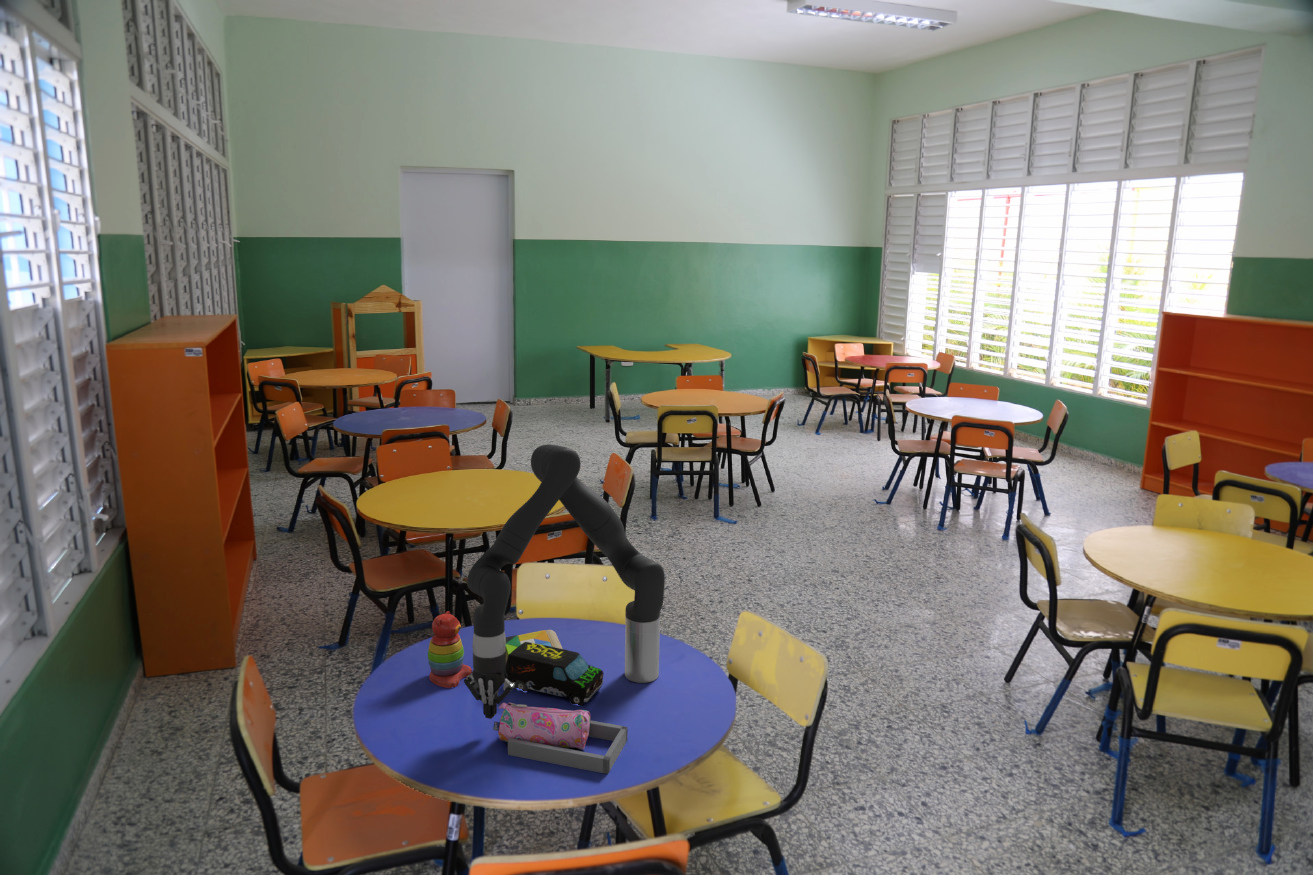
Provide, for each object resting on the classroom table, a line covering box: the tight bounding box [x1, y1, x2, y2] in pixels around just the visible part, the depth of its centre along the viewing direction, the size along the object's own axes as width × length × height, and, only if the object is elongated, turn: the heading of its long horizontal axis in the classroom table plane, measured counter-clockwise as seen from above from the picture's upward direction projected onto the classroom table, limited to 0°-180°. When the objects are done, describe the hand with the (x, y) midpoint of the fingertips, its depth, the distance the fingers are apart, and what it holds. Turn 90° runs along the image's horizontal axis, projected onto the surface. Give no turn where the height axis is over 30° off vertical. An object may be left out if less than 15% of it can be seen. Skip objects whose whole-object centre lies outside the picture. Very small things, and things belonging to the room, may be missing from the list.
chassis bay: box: [507, 720, 628, 775], centre depth 196 cm, size 14×24×4 cm, turn 74°
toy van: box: [505, 642, 605, 707], centre depth 221 cm, size 11×25×10 cm, turn 68°
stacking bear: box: [427, 610, 473, 689], centre depth 225 cm, size 11×10×18 cm
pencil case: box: [492, 702, 592, 750], centre depth 197 cm, size 21×9×9 cm, turn 80°
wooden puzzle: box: [505, 629, 564, 662], centre depth 243 cm, size 18×19×4 cm
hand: (490, 716), depth 200 cm, fingers closed
